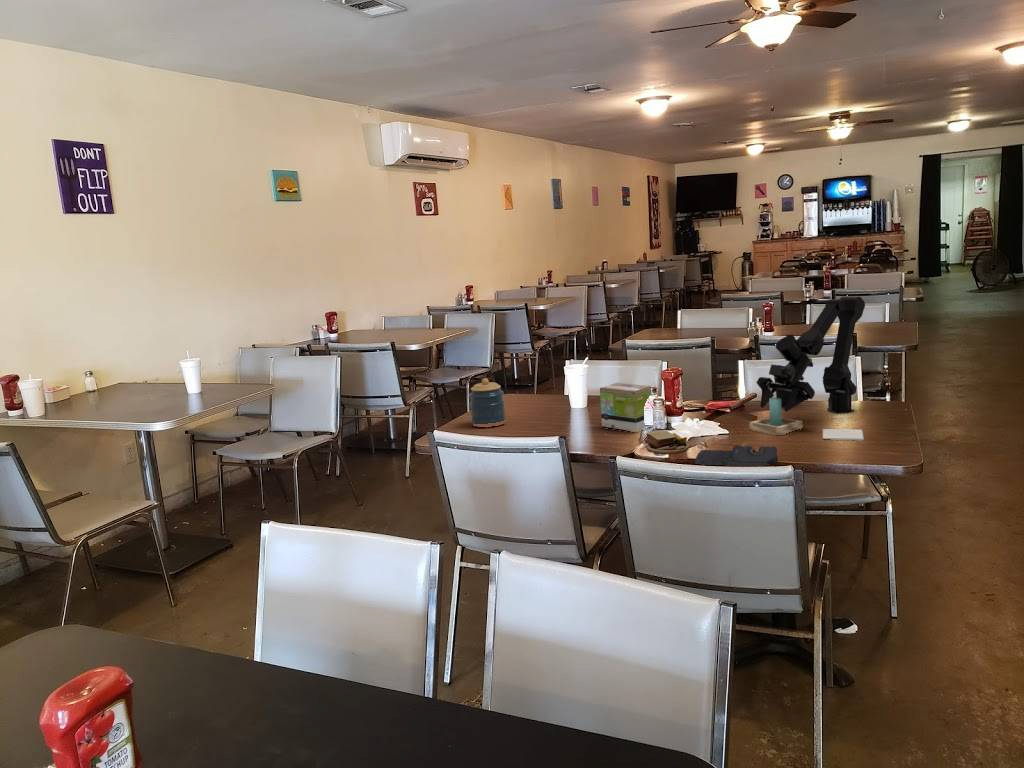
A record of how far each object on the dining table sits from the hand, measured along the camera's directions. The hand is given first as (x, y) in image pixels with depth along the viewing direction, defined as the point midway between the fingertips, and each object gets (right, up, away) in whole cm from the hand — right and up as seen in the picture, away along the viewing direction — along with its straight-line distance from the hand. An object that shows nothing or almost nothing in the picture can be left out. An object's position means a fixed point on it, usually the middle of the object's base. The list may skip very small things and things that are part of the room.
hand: (773, 408), depth 239 cm
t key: (+2, -7, +2) cm, 7 cm away
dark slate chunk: (-21, -15, -30) cm, 39 cm away
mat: (+17, -8, -12) cm, 22 cm away
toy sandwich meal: (-36, -12, -10) cm, 39 cm away
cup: (+16, 0, +34) cm, 38 cm away
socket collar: (+2, -7, +2) cm, 7 cm away
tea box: (-43, -7, +20) cm, 48 cm away
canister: (-92, -7, +42) cm, 101 cm away
